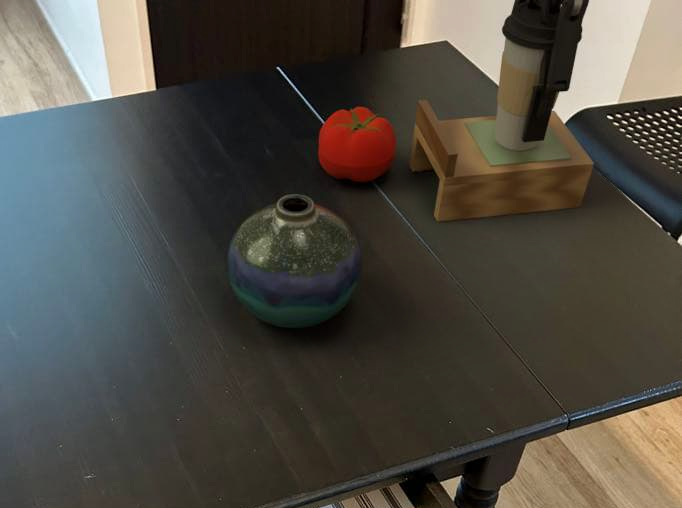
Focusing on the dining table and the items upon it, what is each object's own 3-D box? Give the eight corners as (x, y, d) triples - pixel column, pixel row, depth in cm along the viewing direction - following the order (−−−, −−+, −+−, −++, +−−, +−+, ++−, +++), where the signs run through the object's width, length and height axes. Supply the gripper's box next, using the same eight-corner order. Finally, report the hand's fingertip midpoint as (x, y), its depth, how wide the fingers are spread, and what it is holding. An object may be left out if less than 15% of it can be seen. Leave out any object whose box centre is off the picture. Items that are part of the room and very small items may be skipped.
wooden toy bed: (542, 153, 119) (560, 87, 112) (580, 207, 111) (601, 140, 104) (409, 166, 117) (418, 100, 110) (437, 222, 109) (448, 154, 102)
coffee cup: (527, 166, 105) (559, 39, 93) (466, 140, 109) (489, 15, 97) (566, 138, 109) (601, 13, 97) (506, 114, 113) (533, -9, 101)
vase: (263, 255, 105) (262, 153, 94) (376, 287, 101) (388, 185, 90) (206, 326, 96) (197, 223, 86) (326, 364, 93) (333, 261, 82)
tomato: (381, 198, 112) (387, 144, 106) (305, 183, 115) (307, 129, 109) (401, 159, 118) (408, 106, 112) (329, 145, 120) (332, 93, 114)
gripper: (506, -117, 95) (468, 87, 113) (575, -49, 83) (520, 167, 101) (567, -121, 96) (520, 83, 114) (645, -54, 83) (578, 162, 102)
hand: (520, 122), depth 107 cm, fingers closed on coffee cup, 8 cm apart
